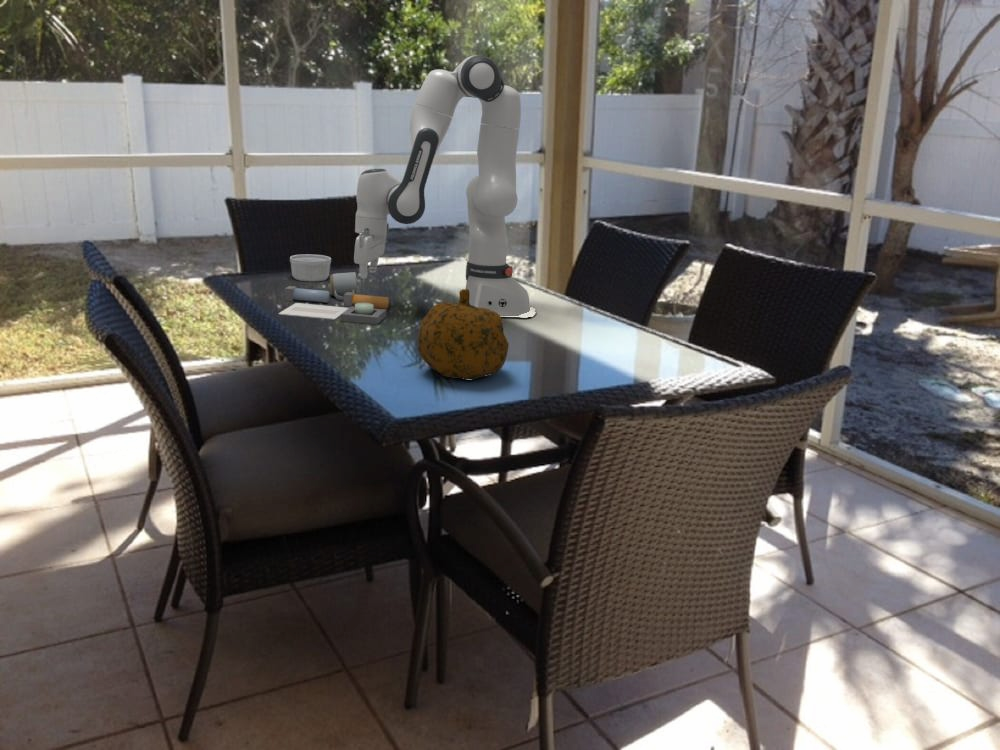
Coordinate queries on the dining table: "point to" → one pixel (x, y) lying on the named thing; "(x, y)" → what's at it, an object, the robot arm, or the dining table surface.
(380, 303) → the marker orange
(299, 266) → the ramekin
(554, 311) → the dining table surface
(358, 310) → the button
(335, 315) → the paper
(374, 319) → the button base
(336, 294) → the ceramic mug
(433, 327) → the decorative pumpkin
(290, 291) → the marker blue
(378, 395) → the dining table surface
